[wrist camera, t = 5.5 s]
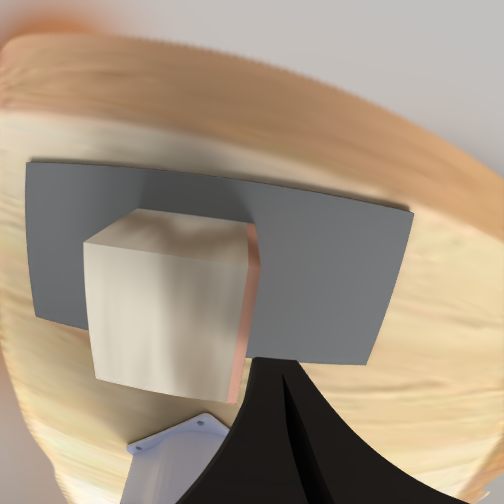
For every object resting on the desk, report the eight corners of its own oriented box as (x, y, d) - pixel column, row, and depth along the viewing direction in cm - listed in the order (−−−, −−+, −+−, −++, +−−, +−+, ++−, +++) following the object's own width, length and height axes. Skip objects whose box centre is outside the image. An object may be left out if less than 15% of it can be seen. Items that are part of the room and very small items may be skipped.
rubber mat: (410, 211, 16) (414, 213, 16) (363, 360, 19) (365, 365, 19) (31, 161, 15) (26, 162, 14) (39, 313, 18) (35, 316, 17)
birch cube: (261, 267, 10) (83, 242, 10) (236, 404, 12) (96, 378, 11) (255, 223, 16) (137, 208, 15) (238, 328, 18) (134, 312, 17)
